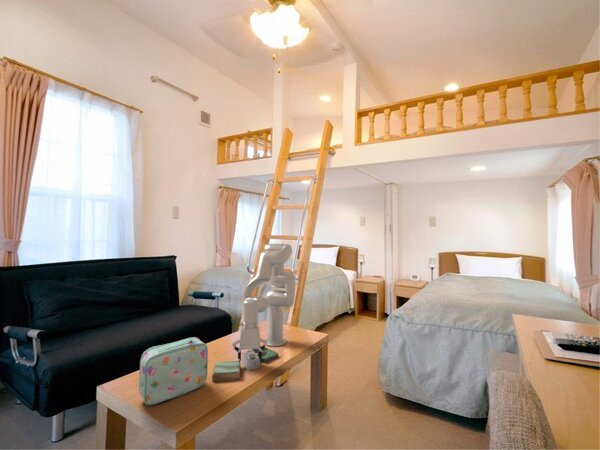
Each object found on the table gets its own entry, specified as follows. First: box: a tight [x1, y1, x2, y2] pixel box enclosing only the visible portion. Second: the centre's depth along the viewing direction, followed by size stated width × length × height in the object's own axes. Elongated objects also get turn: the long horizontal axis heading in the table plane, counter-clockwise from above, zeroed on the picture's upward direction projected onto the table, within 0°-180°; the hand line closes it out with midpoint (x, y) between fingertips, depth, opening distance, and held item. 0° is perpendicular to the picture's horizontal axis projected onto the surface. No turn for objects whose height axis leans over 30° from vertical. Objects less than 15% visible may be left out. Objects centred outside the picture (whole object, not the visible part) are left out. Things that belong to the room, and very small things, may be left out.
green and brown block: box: [211, 360, 241, 382], centre depth 136 cm, size 12×12×3 cm
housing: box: [241, 350, 261, 372], centre depth 144 cm, size 11×6×6 cm, turn 27°
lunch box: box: [138, 336, 209, 406], centre depth 121 cm, size 27×10×21 cm, turn 133°
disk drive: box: [246, 345, 279, 364], centre depth 155 cm, size 10×3×15 cm
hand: (249, 359), depth 144 cm, fingers open, 9 cm apart
